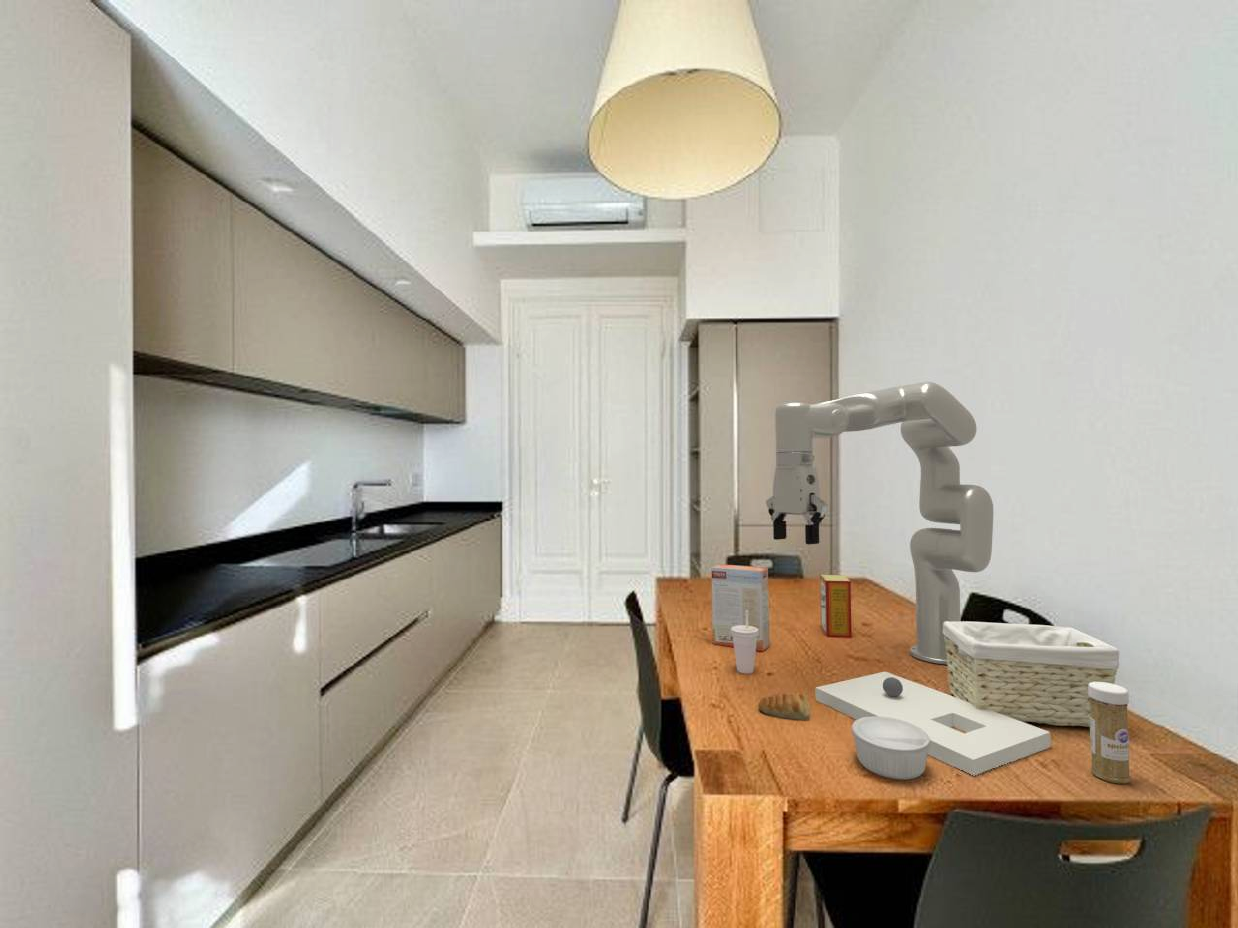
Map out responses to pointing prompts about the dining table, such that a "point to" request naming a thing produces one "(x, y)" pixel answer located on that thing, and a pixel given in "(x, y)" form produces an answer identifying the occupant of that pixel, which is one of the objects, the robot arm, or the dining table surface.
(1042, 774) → the dining table surface
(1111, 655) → the storage basket
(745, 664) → the smoothie
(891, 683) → the ball
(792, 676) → the dining table surface
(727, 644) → the cracker box
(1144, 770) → the dining table surface
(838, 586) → the baking soda box
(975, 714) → the board
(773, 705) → the pastry
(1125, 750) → the sprinkles bottle
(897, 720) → the ramekin
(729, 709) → the dining table surface
